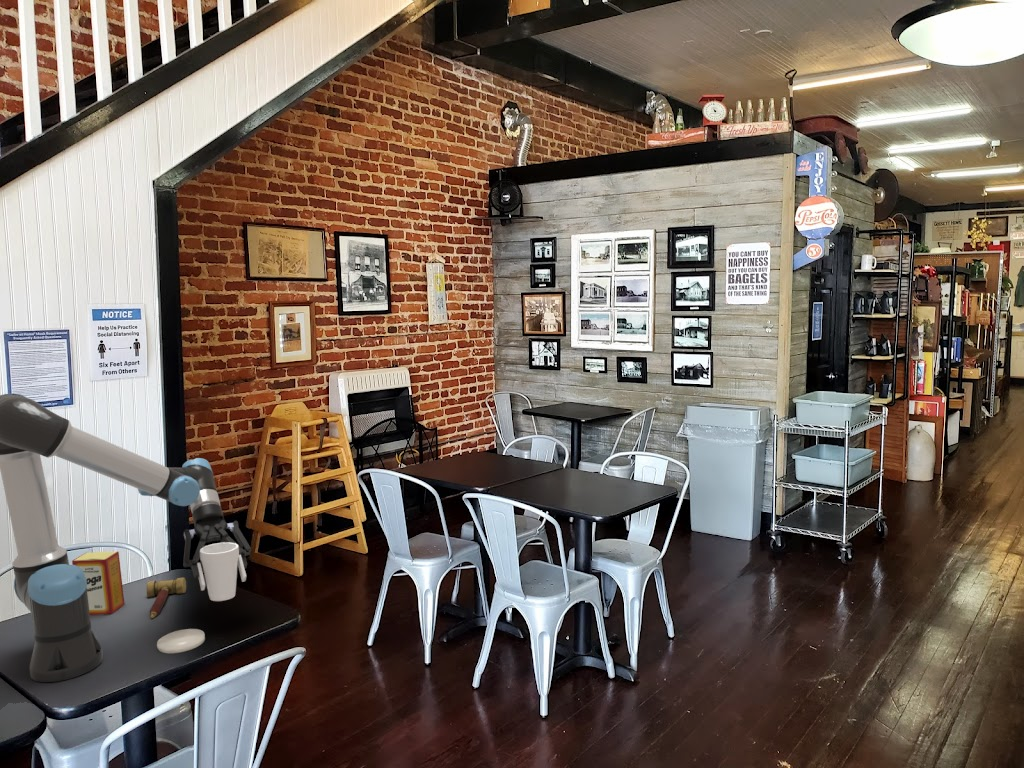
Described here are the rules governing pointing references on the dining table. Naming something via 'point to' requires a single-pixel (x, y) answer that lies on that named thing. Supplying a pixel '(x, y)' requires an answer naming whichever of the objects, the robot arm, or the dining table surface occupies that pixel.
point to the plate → (180, 641)
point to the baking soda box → (102, 581)
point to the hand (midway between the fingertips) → (224, 583)
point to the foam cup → (220, 569)
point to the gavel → (163, 592)
